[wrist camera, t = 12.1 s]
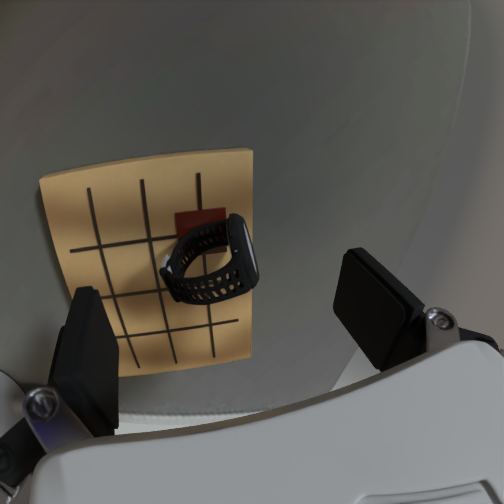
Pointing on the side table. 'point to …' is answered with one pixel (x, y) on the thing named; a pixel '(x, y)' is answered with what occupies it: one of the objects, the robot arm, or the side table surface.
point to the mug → (9, 403)
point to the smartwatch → (239, 262)
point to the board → (154, 251)
